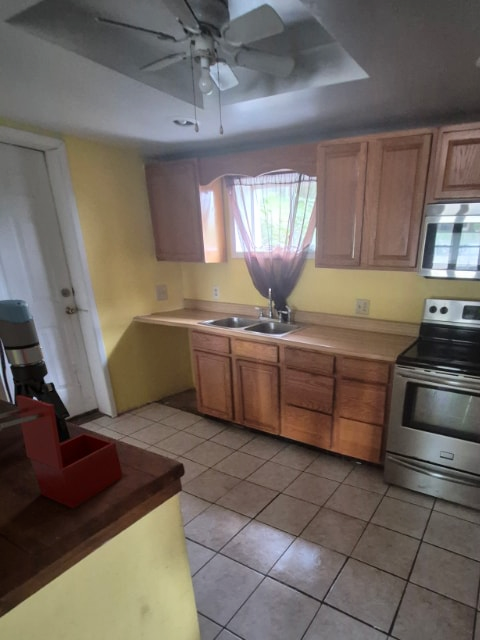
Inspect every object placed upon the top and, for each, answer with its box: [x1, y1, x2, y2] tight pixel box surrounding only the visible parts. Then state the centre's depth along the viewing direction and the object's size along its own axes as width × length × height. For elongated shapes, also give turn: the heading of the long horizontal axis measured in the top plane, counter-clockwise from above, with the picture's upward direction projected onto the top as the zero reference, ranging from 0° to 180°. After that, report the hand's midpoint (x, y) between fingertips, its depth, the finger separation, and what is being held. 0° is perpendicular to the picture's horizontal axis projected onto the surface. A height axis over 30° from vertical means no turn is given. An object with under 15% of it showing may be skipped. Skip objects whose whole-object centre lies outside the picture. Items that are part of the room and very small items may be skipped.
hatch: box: [0, 395, 63, 470], centre depth 69 cm, size 13×10×10 cm
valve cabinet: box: [29, 432, 124, 509], centre depth 82 cm, size 12×10×10 cm
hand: (49, 435), depth 103 cm, fingers open, 13 cm apart
